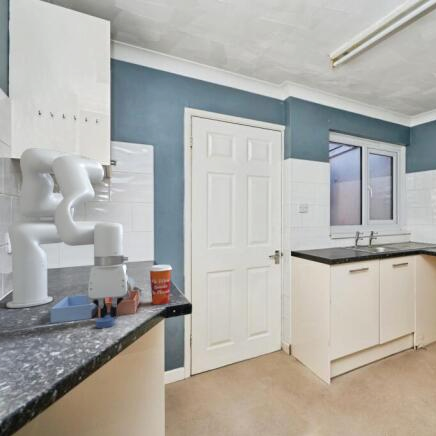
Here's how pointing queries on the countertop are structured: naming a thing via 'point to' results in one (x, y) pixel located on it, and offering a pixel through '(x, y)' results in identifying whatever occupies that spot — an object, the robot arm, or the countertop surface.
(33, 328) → the countertop surface
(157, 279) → the paper cup
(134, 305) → the clay bin
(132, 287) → the ceramic mug
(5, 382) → the countertop surface
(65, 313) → the slate bin
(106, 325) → the slate spoon
